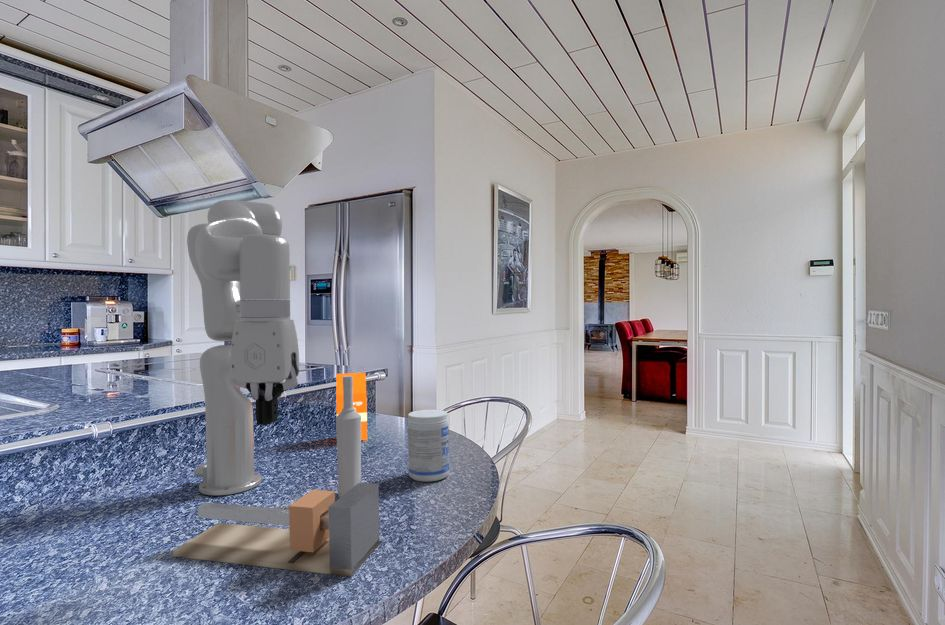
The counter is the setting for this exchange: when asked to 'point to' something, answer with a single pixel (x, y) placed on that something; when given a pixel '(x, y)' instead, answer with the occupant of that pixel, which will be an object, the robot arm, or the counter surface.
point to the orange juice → (354, 398)
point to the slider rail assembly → (323, 523)
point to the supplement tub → (428, 445)
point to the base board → (256, 549)
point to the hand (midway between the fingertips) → (267, 422)
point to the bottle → (348, 441)
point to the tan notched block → (309, 520)
